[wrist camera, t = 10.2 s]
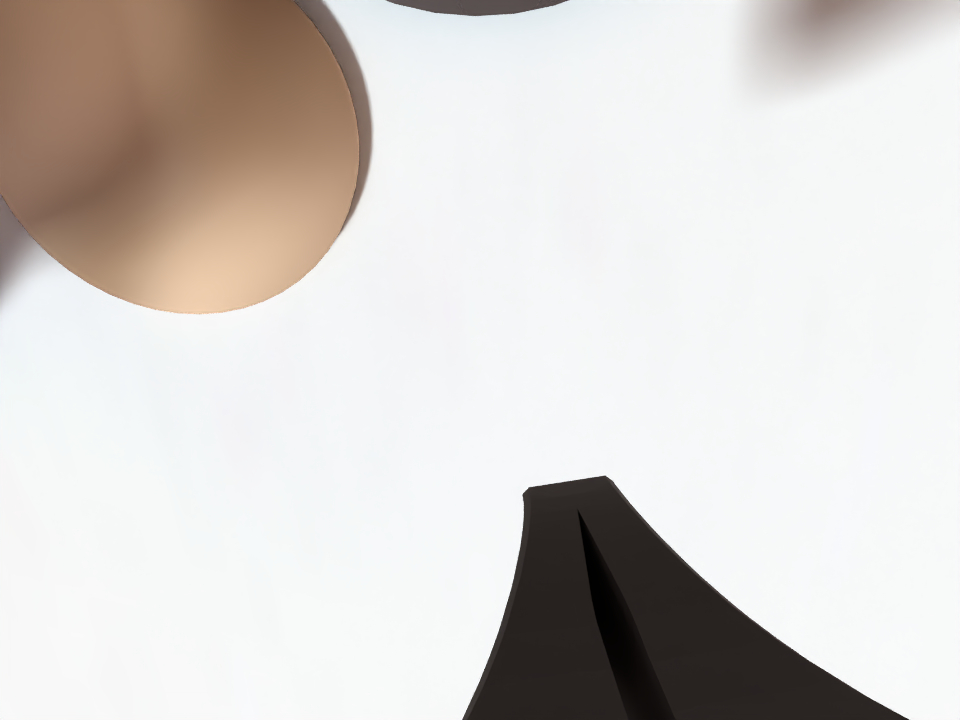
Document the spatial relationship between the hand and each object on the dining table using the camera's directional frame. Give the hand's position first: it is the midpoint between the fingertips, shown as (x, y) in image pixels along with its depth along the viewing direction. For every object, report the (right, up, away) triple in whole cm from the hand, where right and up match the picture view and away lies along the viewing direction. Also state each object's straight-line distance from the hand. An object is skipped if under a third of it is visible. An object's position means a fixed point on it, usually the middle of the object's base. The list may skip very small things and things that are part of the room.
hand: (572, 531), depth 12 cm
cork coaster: (-9, +8, +7) cm, 14 cm away
